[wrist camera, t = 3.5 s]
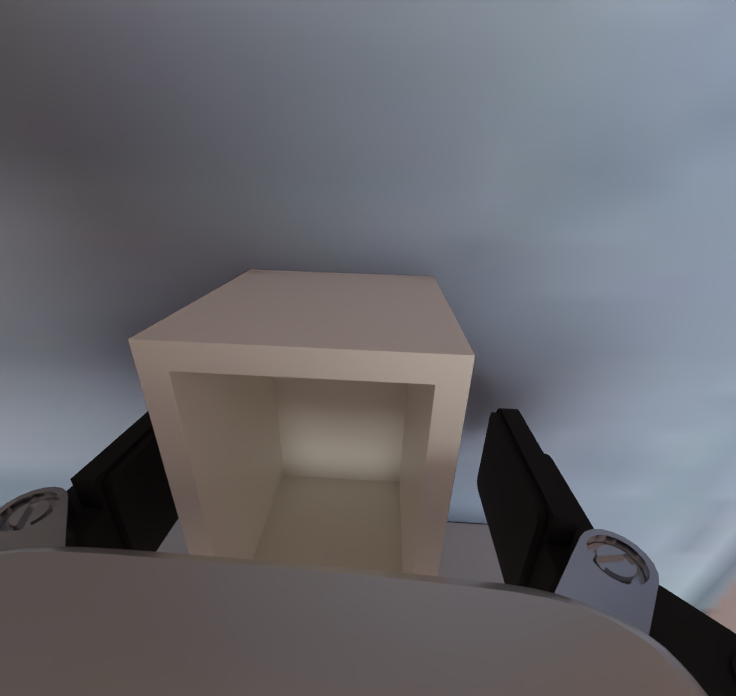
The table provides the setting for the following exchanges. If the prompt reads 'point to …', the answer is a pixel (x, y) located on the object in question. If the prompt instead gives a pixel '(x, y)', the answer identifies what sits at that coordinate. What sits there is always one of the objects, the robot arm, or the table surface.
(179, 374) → the small crate
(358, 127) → the table surface
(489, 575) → the base crate
